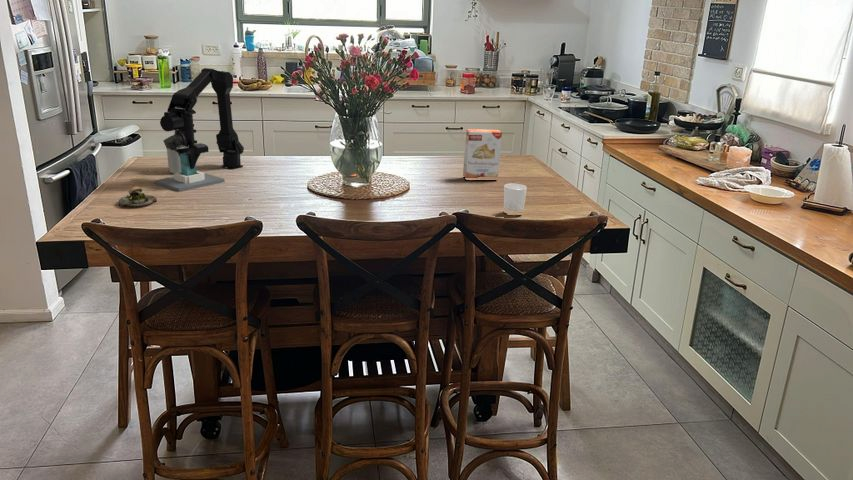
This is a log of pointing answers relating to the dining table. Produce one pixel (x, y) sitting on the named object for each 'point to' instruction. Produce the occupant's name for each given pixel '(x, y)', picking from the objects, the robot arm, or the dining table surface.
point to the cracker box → (482, 153)
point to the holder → (188, 181)
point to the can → (173, 161)
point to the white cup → (514, 196)
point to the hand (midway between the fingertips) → (188, 167)
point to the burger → (136, 198)
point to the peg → (186, 165)
